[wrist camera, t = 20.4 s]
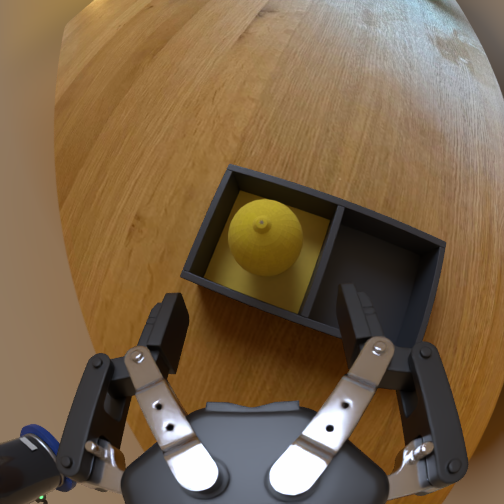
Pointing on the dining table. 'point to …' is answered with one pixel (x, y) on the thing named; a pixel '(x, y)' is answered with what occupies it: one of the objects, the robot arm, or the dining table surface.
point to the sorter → (322, 259)
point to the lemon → (265, 237)
